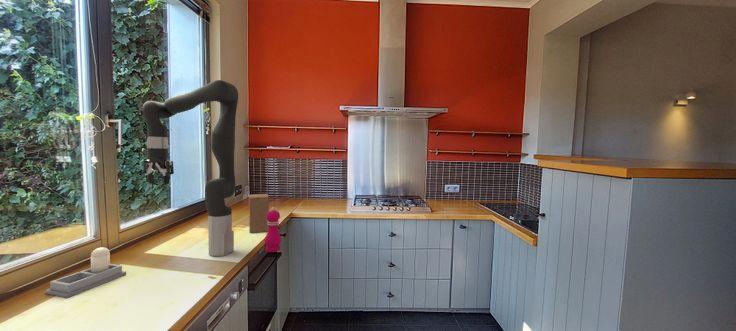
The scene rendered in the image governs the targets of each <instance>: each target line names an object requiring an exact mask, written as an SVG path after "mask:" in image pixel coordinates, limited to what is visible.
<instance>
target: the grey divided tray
mask: <svg viewBox="0 0 736 331" xmlns="http://www.w3.org/2000/svg"><path fill="white" fill-rule="evenodd" d="M125 275H127V271H124V270H123V265H120V264H114V263H110V269H109V270H106V271H103V272H100V273H98V274H95V273H91V267H90V268H86V269H83V270H81V271H77V272H75V273H72V274H69V275H67V276H63V277H60V278H57V279H55V280H54V279H53V280H51V281H49V288H47V289H45V294H47V295H52V296H57V297H62V298H67V299H68V298H70V297H73V296H75V295H77V294H80V293H83V292H86V291H88V290H91V289H93V288H95V287H98V286H101V285H103V284H105V283H108V282H111V281H113V280H115V279H116V280H117V279H118V278H120V277H123V276H125Z"/></svg>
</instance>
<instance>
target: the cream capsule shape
mask: <svg viewBox="0 0 736 331" xmlns="http://www.w3.org/2000/svg"><path fill="white" fill-rule="evenodd" d="M110 256H111V253H110V250H109V248H107V247H104V246H101V247H96V248H95V249H93V251H92V252H91V253H90V268H91V273H95V274H98V273H100V272H103V271H106V270H109V269H110V264H111V261H110V260H111V259H110V258H111V257H110Z"/></svg>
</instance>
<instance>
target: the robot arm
mask: <svg viewBox="0 0 736 331" xmlns="http://www.w3.org/2000/svg"><path fill="white" fill-rule="evenodd" d="M238 101H239V90H238V89H237V87H236V86H235V85H234V84H232V83H230V82H228V81H224V80H221V79H218V80H217V79H216V80H214V81H211V82H209V83H207V84H205V85H202V86H201V87H198V88H196V89H193V90H191V91H188V92H185V93H182V94H177V95H175V96H172V97H171V96H170V97H168V98H166V99H165V101H164V102H161V101H160V102H159V101H154V100H147V101H146V102H145V101H144V103H143V106H142V112H141V113H142V115H143V118H144V122H145V124H146V127H147V128H146V129H147V140H146V153H147V156H146V157H147V158H148V159H144V160H143V168H142V170H143V171H142V172H143V174H146V176H147V183H148V184H154V183H155V175H154V174H155V172H157V171H159V172H160V173H162V175H163V176H162V177H163V178H162V183H163V185H169V184H170V176H171V175H174V172H175V170H174V161H173V160H167V159H169V139H168V127H167V125H166V124H164V123H162V122H161V119H163V120H164V119H170V118H172V117H173V116H175V115H177V114H180V113H184V112H188V111H190V110H193V109H195V108H196V107H198V106H199V105H201V104H205V103H210V102H217V103H219V115H218V118H217V120H216V122H215V124H214V126H213V129H212V131H211V136H210V138H211V139H210V140H211V142H210V144H211V146H210V147H211V151H212V154H213V157H214V158H215V160H216V161H217V164H218V169H219V176H218V178H212V179H210V180H208V181H207V182H206V185H205V189H204V196H205V197H204V198H205V208H206V210H207V214H208V215H207V216H208V220H207V221H208V223H207V225H208V229H207V230H208V232H207V233H208V240H207V241H208V243H207V244H208V255H209V256H211V257H221V256H222V257H225V256H226V255H229V254H231V253H233V252H235V245H234V244H235V234H234V233H235V232H234V230H233V224H232V223H233V222H232V221H233V219H232V218H233V214H232V213H233V209H232V207H231V206H228V205H226V204H225V202H226V201H225V199H229V198H231V197H232V196H233V195H234V194H235V191H236V175H235V174H236V173H235V172H236V171H235V149H236V148H235V147H236V117H237V116H236V115H237V110H238V103H239V102H238Z"/></svg>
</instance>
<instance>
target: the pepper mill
mask: <svg viewBox="0 0 736 331" xmlns="http://www.w3.org/2000/svg"><path fill="white" fill-rule="evenodd" d="M266 218H267V220H268V223H267V224H268V232H266V235H265V238H264V244H265V245H266V246H265V251H266V252H269V253H276V252H279V251H280V250H281V245H280V244H281V242H282V236H281V234H280V232H279V228H278V227H279V220H280V218H281V215H280V211H278V210H276V207H274V206H272V207H271V208H270V211H269V212H268V213H267V215H266Z"/></svg>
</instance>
